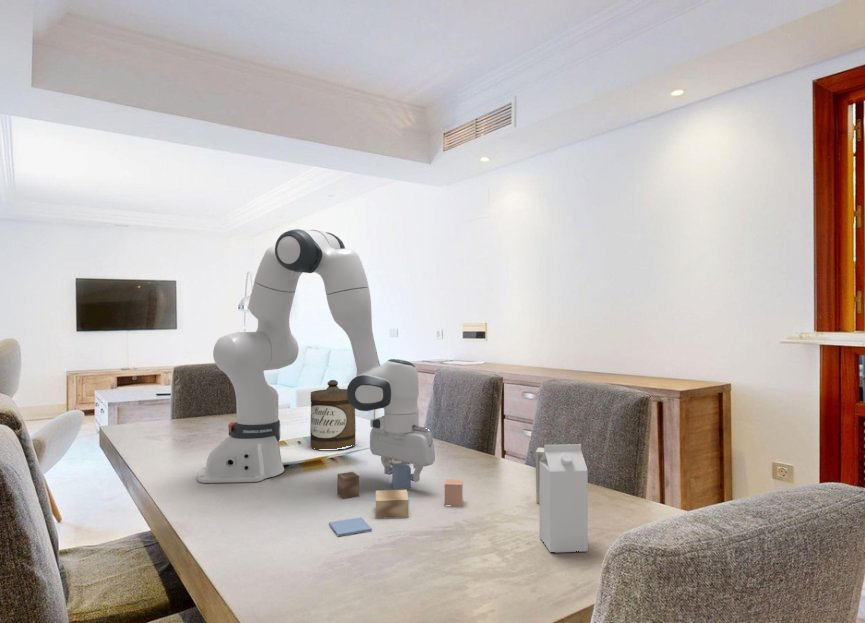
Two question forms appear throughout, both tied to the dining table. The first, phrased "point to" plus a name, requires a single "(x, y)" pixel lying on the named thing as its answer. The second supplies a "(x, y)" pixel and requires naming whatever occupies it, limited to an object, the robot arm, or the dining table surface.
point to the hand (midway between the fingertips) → (401, 477)
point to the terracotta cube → (453, 492)
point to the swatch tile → (349, 526)
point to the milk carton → (564, 498)
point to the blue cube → (401, 476)
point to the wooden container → (331, 418)
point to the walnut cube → (348, 485)
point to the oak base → (391, 503)
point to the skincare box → (538, 472)
